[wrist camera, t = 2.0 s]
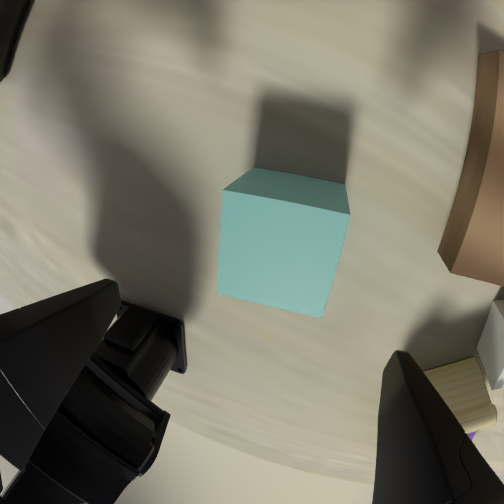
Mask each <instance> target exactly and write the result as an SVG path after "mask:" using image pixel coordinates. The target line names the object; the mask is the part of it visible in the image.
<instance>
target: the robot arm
mask: <svg viewBox="0 0 504 504" xmlns="http://www.w3.org/2000/svg"><path fill="white" fill-rule="evenodd" d="M116 313H117V318H118V319H117V320H116V321H115V322H114V323H113V325H112V326H111V327H110V328H109V326H110V324H111V322H112V320H113V319H114V317H115V315H116ZM176 325H177V326H176ZM108 328H109V329H108ZM107 329H108V330H107ZM102 338H103V339H102ZM186 369H187V368H186V356H185V343H184V328H183V323H182V322H181V321H180V320H178V319H175V318H171V317H168V316H165V315H162V314H159V313H156V312H153V311H150V310H147V309H144V308H141V307H138V306H136V305H133V304H130V303H127V302H124V301H122V300H121V298H120V293H119V287H118V284H117V282H116V281H113V280H110V279H103V280H100V281H97V282H94V283H91V284H88V285H85V286H82V287H79V288H76V289H73V290H70V291H67V292H64V293H61V294H59V295H56V296H53V297H50V298H47V299H44V300H41V301H38V302H35V303H32V304H30V305H27V306H24V307H21V308H20V309H19V308H18V309H15V310H13V311H9V312H6V313H3V314H1V315H0V455H1V456H2V457H3V458H5V459H6V460H7V461H8V462H10V463H11V464H12V465H13V466H15V467H16V468H18V469H19V471H18V472H17V474H16V475H15V477H14V478H13V480H12V481H11V482H10V484H9V485H8V486H7V488H6V489H5V491H4V492H3V494H2V495H1V496H0V504H114V503H115V501H116V500H117V498H118V497H119V496H120V494H121V493H122V491H123V490H124V489H125V488H126V486H127V485H128V484H129V483H130V482H131V481H132V480H133V479H137V478H139V477H141V476H142V475H144V474H145V473H146V472H147V470H148V469H149V468H150V467H151V465H152V464H153V463H154V461H155V459H156V457H157V454H158V451H159V449H160V446H161V442H162V439H163V436H164V433H165V430H166V427H167V424H168V421H169V418H170V414H169V413H168V412H166V411H163V410H162V409H160V408H159V407H158V406H156V405H155V404H154V403H152V402H151V400H152V399H153V397H154V395H155V394H156V392H157V390H158V389H159V387H160V385H161V384H162V382H163V381H164V379H165V377H166V376H167V374H168V372H169V371H170V370H172V371H175V372H178V373H181V374H184V373H185V371H186ZM2 490H3V486H2V481H1V473H0V493H1V492H2ZM372 504H504V484H503V483H502V482H501V480H500V479H499V478H498V476H497V475H496V474H495V472H494V471H493V470H492V468H491V467H490V466H489V465H488V463H487V462H486V461H485V459H484V458H483V456H482V455H481V454H480V452H479V451H478V449H477V448H476V447H475V445H474V444H473V442H472V441H471V439H470V438H469V436H468V435H467V433H465V430H464V429H463V427H462V426H461V424H460V423H459V421H458V420H457V418H456V417H455V415H454V414H453V413H452V411H451V410H450V408H449V407H448V405H447V404H446V403H445V401H444V400H443V398H442V397H441V396H440V394H439V393H438V391H437V390H436V389H435V387H434V386H433V384H432V383H431V382H430V380H429V379H428V378H427V376H426V375H425V374H424V372H423V371H422V370H421V368H420V367H419V366H418V364H417V363H416V362H415V360H414V359H413V358H412V356H411V355H410V354H409V353H408V352H406V351H400V350H396V351H395V352H394V353H393V354H392V356H391V358H390V360H389V361H388V363H387V365H386V366H385V368H384V371H383V376H382V387H381V397H380V405H379V414H378V436H377V457H376V471H375V483H374V493H373V502H372Z"/></svg>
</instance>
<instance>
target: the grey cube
mask: <svg viewBox="0 0 504 504" xmlns="http://www.w3.org/2000/svg"><path fill="white" fill-rule="evenodd" d="M476 348H477V351H478V353H479V356H480V359H481V361H482V364H483V367H484V369H485V372H486V375H487V378H488V381H489V384H490V387H491V390H494V389H499V388H503V387H504V300H496V301H493V302H492V305H491V309H490V312H489V315H488V318H487V321H486V324H485V326H484V329H483V332H482V335H481V337H480V340H479V342H478V345H477V347H476Z"/></svg>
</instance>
